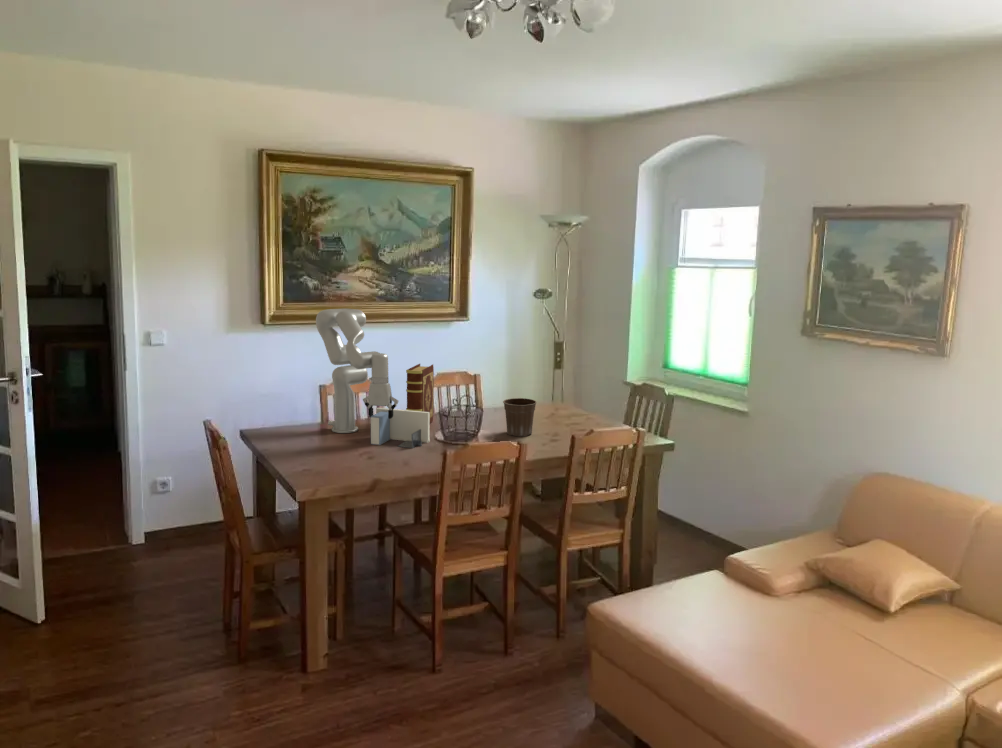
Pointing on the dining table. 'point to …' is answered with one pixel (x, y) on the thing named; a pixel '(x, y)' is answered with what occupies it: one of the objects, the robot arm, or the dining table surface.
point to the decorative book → (420, 389)
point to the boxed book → (380, 428)
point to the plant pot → (519, 416)
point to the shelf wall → (408, 424)
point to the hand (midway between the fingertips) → (380, 417)
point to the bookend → (413, 440)
